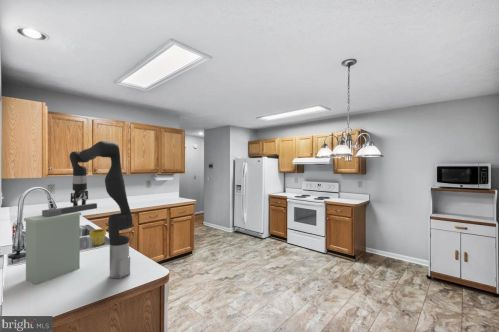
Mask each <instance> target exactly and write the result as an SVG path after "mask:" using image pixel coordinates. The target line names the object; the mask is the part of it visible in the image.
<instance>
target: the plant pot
mask: <svg viewBox="0 0 499 332" xmlns="http://www.w3.org/2000/svg"><path fill="white" fill-rule="evenodd" d="M106 235H107V230H106V229H105V228H98V229H92V230H91V231H89V238H90V239H91V243H92V246H100V245H101V246H102V244H104V243H105V237H106Z"/></svg>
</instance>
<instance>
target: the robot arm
mask: <svg viewBox="0 0 499 332" xmlns="http://www.w3.org/2000/svg"><path fill="white" fill-rule="evenodd" d="M97 157H99V158H110V164H111V165H110V168H109V170H108V172H107V173H106V176H105V177H104V184H105V190H106V193H107V195H109V197H110V198H111V199H112V200H113V201H114V202H115V203H116V204H117V206H118V208H119V211H120V212H119V213H114V214H110V215H109V218H108V221H107V228H108V238H109V239H108V240H109V277H110V278H111V279H122V278H124V277H126V276H129V275H130V274H131V256H130V237H129V236H128V235H125V234H120V231H124V230H128V229H131V228H132V227H133V223H134V222H133V215H132V212H131V208H130V205H129V204H130V203H129V201H128V197H127V191H126V185H125V180H124V175H123V171H122V170H123V169H122V163H121V152H120V147H119V144H118V143H117V142H116V141H107V140H101V141H98V142H96V143H95V144H93V145H92V146H91V147H88V148H86V149H83V150H81V151H75V150H74V151H72V152H70V154H69V161H70V162H71V166H72V191H74V192H71V193H70V203H71V204H72V206H78V205H79V203H78V202H79V201H80V200H81V205H85V204H87V201H88V200H89V191H88V177H87V167H86V166H83V165H80V164H79V163H83V164H84V163H88V162H90V161H93V160H94V159H96V158H97Z"/></svg>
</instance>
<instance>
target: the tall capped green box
mask: <svg viewBox="0 0 499 332" xmlns="http://www.w3.org/2000/svg"><path fill="white" fill-rule="evenodd" d="M81 215H82V211H78V212H73V213H67V214H62V215H58V216H52V217H45V216H42V214H41V215H40V214H39V215H35V216H29V217H23V221H24V222H25V281H27V282H29V283H31V284H34V285H36V286H37V285H39V284H41V283H45V282H47V281H51V280H52V279H55V278H58V277H61V276H62V275H66V274H68V273H72V272H74V271H76V270H79V269H80V267H81V266H80V264H81V263H80V261H81V260H80V256H81V255H80V253H81V252H80V249H81V247H80V246H81V245H80V243H81V241H80V236H81V235H80V233H81V230H80V228H81V226H80V216H81Z"/></svg>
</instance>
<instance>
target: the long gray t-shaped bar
mask: <svg viewBox="0 0 499 332" xmlns="http://www.w3.org/2000/svg"><path fill="white" fill-rule="evenodd" d="M97 208H98V203H96V202H94V203H86V204H85V205H82V204H78V206H73V205H72V206H65V207H58V208H55V207H54V208H50V209H42V210H41V215H42V216H45V217H52V216H58V215H62V214H67V213H73V212H83V211H89V210H95V209H97Z"/></svg>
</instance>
